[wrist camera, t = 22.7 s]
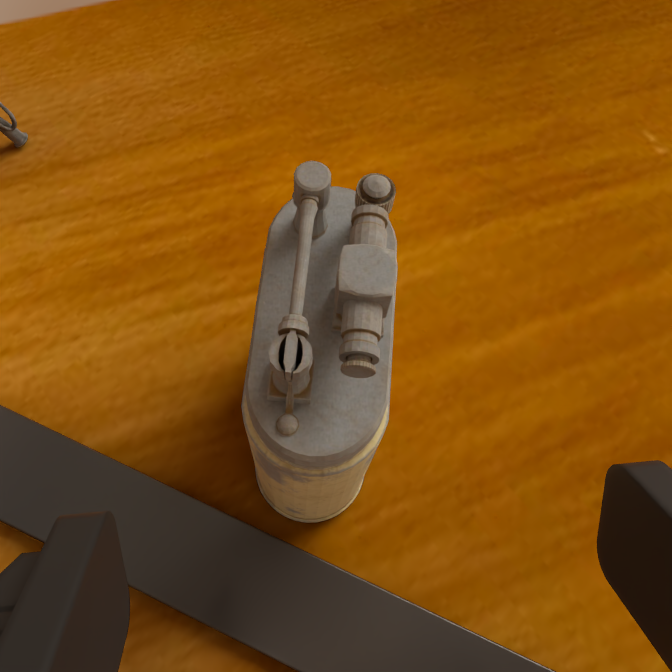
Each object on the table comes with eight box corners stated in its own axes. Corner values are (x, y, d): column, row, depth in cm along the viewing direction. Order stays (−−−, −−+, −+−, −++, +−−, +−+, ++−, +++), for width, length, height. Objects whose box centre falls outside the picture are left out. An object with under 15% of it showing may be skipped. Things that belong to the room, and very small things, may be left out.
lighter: (359, 528, 20) (411, 453, 11) (239, 517, 20) (191, 432, 11) (373, 324, 23) (423, 131, 14) (268, 313, 23) (249, 112, 14)
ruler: (-73, 482, 20) (-82, 479, 20) (-14, 399, 21) (-20, 394, 21) (534, 789, 18) (540, 794, 17) (563, 676, 19) (570, 678, 18)
